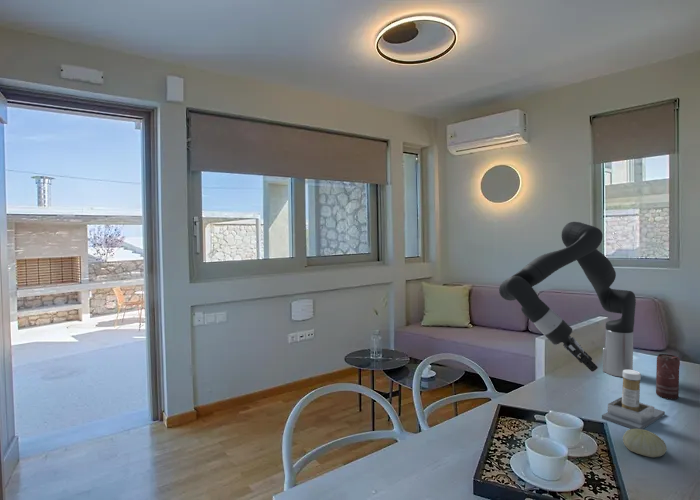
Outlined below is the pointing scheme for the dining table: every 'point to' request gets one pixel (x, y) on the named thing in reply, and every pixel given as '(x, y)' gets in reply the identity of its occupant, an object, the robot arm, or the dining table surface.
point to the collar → (631, 412)
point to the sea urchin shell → (644, 443)
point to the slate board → (633, 425)
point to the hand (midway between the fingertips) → (592, 365)
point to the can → (667, 376)
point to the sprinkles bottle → (631, 390)
